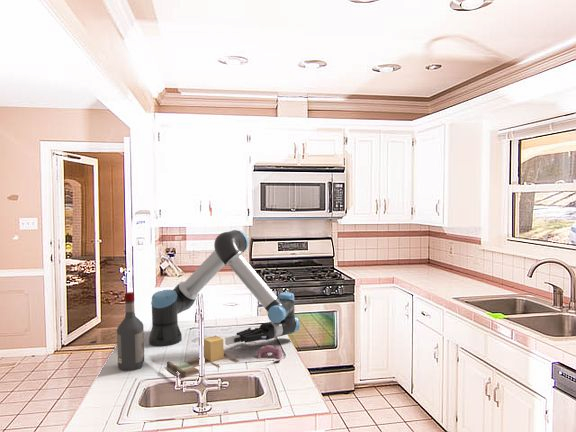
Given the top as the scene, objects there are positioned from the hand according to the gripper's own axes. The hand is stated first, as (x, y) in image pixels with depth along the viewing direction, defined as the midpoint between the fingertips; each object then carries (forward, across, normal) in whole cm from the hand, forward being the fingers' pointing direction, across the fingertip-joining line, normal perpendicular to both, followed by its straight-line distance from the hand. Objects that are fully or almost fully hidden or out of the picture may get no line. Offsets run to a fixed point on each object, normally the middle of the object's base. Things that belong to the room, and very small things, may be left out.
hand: (226, 341), depth 188 cm
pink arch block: (-12, -14, -7) cm, 20 cm away
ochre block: (+6, 0, -6) cm, 8 cm away
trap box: (+12, -3, -7) cm, 14 cm away
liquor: (+34, +18, -7) cm, 39 cm away
